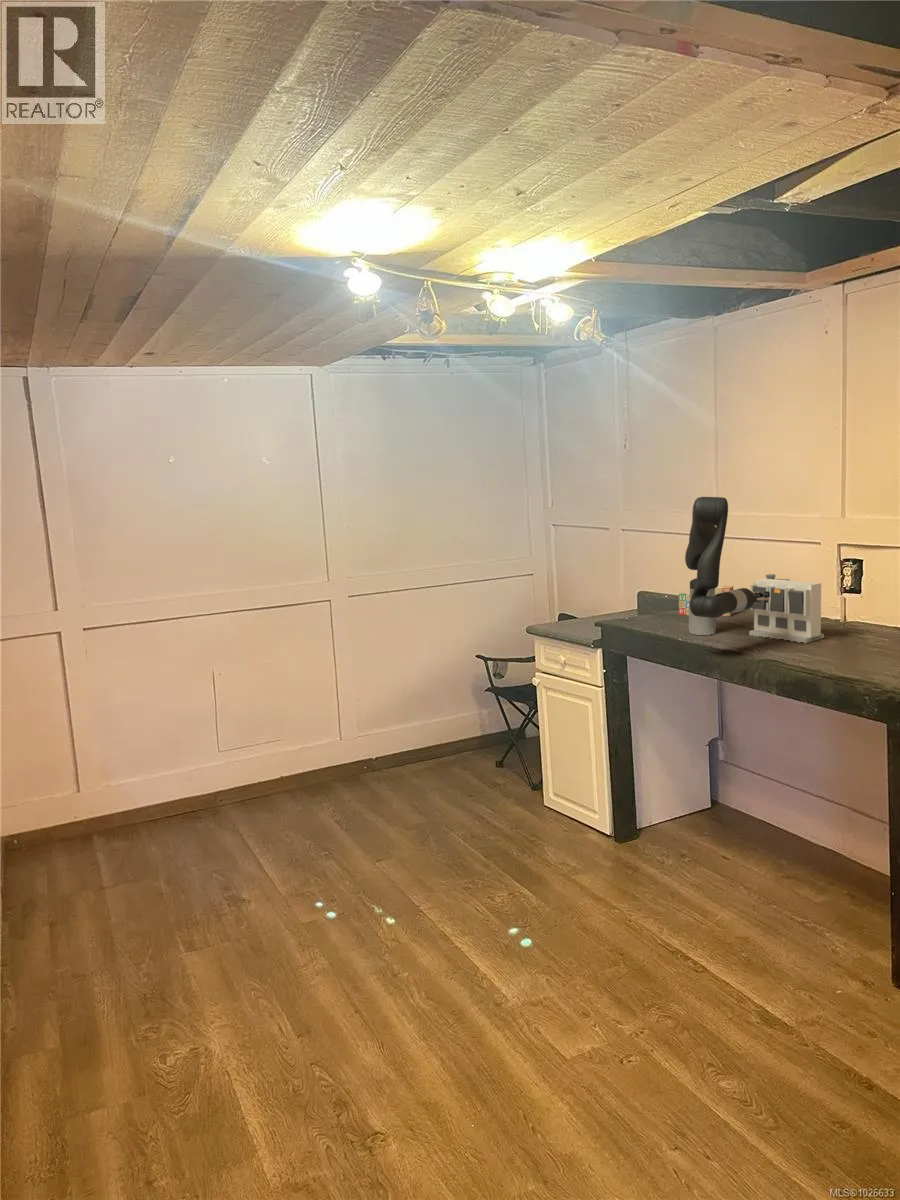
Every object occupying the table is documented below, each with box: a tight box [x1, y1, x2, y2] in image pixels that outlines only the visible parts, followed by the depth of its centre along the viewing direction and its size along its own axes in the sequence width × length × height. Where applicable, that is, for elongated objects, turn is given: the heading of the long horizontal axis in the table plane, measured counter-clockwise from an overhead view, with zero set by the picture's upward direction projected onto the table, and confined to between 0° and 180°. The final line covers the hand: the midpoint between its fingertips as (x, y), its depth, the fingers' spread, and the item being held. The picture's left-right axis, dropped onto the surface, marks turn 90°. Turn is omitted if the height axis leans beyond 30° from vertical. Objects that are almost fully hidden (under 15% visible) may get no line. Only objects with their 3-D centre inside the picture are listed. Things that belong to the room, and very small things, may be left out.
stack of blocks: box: [678, 584, 734, 617], centre depth 376 cm, size 21×6×12 cm, turn 60°
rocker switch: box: [750, 587, 766, 610], centre depth 325 cm, size 2×5×8 cm, turn 36°
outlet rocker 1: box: [770, 588, 785, 612], centre depth 319 cm, size 2×5×8 cm, turn 36°
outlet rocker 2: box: [788, 590, 804, 614], centre depth 313 cm, size 2×5×8 cm, turn 35°
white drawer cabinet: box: [748, 577, 825, 644], centre depth 323 cm, size 11×23×20 cm, turn 36°
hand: (767, 594), depth 315 cm, fingers closed
